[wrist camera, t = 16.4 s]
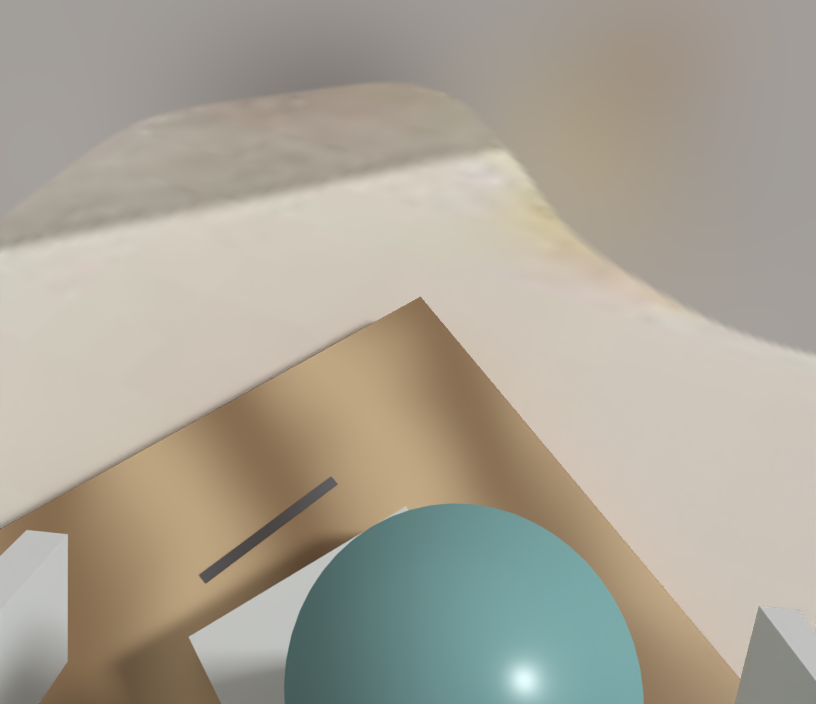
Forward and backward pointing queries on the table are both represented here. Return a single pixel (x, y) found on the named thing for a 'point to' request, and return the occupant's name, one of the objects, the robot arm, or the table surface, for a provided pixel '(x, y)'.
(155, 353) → the table surface
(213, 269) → the table surface
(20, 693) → the robot arm
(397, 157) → the table surface
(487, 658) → the teal cylinder on base
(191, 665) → the board
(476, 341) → the table surface
